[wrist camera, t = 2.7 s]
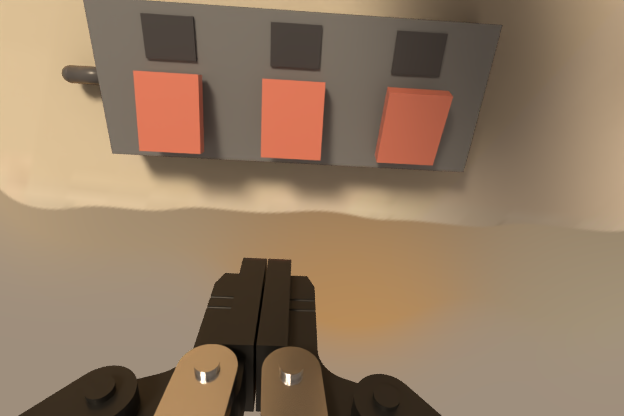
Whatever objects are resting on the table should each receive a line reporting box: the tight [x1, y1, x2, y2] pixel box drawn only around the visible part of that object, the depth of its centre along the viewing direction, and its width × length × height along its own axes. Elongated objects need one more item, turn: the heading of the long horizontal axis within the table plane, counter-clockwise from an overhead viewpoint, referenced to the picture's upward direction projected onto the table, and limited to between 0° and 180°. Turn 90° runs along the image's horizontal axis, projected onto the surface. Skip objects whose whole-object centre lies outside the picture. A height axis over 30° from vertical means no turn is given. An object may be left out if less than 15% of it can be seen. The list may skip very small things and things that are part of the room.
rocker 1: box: [133, 71, 204, 154], centre depth 25 cm, size 4×5×1 cm
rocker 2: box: [261, 79, 325, 160], centre depth 25 cm, size 4×5×1 cm
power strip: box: [62, 0, 502, 172], centre depth 27 cm, size 30×10×4 cm, turn 86°
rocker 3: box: [375, 87, 453, 165], centre depth 25 cm, size 4×5×1 cm
